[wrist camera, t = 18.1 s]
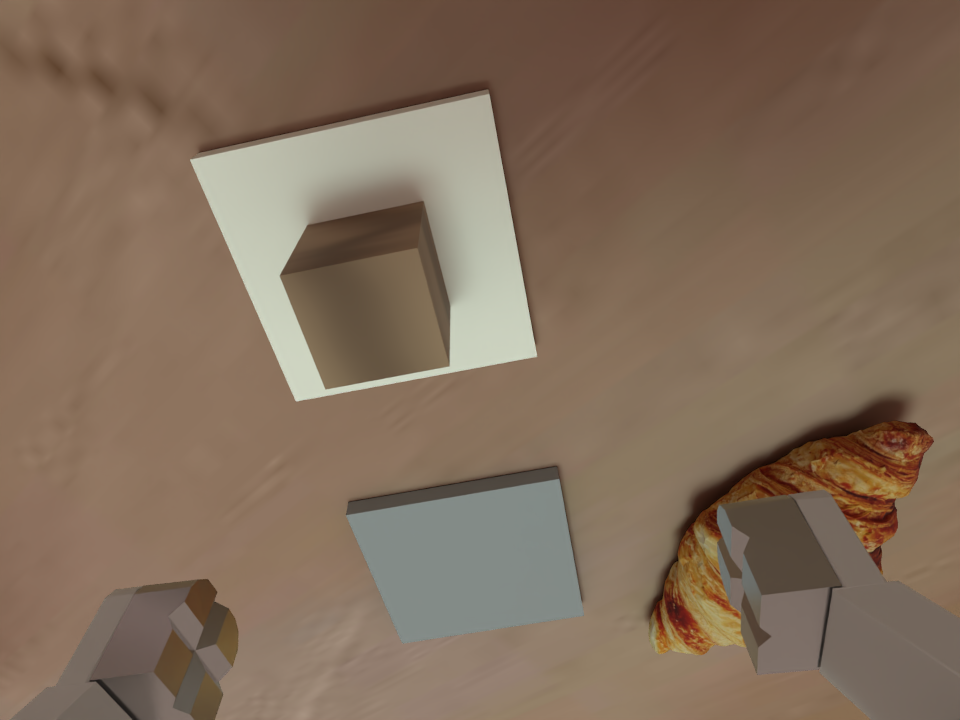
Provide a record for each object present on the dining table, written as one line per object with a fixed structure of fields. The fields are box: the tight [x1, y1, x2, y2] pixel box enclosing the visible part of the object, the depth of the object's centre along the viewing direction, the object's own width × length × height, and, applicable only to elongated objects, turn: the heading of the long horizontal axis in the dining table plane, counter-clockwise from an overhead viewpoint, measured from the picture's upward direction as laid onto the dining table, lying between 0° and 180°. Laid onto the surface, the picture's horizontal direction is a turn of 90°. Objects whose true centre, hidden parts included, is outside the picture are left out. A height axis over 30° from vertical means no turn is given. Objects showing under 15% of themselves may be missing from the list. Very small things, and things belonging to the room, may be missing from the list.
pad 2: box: [346, 467, 584, 643], centre depth 39 cm, size 12×12×1 cm
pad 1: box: [190, 89, 537, 401], centre depth 29 cm, size 12×12×1 cm
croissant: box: [649, 420, 934, 655], centre depth 37 cm, size 21×10×8 cm, turn 151°
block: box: [280, 201, 451, 390], centre depth 26 cm, size 5×5×5 cm
